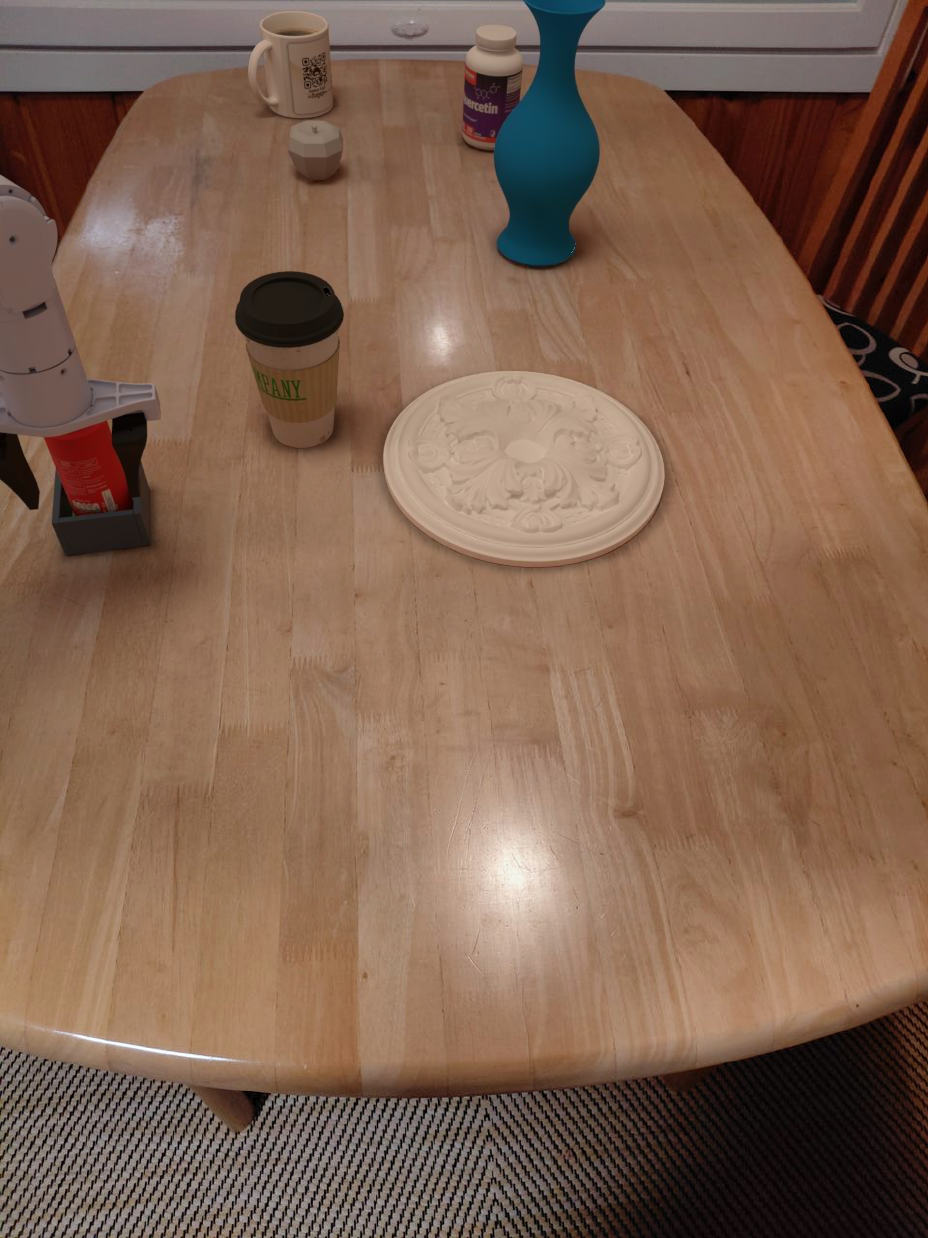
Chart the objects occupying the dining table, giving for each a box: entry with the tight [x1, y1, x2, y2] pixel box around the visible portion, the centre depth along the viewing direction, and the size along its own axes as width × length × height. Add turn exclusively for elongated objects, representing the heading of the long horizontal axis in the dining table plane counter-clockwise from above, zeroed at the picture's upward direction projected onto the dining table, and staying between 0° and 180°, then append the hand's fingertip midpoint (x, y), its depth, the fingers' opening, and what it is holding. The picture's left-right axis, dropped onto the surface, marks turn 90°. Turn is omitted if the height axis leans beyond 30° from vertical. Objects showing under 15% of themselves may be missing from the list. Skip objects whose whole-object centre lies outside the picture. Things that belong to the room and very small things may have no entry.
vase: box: [493, 0, 607, 268], centre depth 108 cm, size 12×13×28 cm
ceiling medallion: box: [382, 370, 666, 568], centre depth 92 cm, size 28×28×3 cm
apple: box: [287, 119, 344, 181], centre depth 126 cm, size 8×8×7 cm
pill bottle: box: [461, 23, 524, 152], centre depth 132 cm, size 8×8×14 cm
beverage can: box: [43, 420, 133, 516], centre depth 81 cm, size 5×5×12 cm
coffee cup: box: [234, 270, 345, 449], centre depth 89 cm, size 10×10×15 cm
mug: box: [247, 10, 334, 119], centre depth 137 cm, size 10×12×11 cm
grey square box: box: [51, 461, 152, 556], centre depth 84 cm, size 7×7×4 cm
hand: (85, 494), depth 74 cm, fingers open, 7 cm apart
